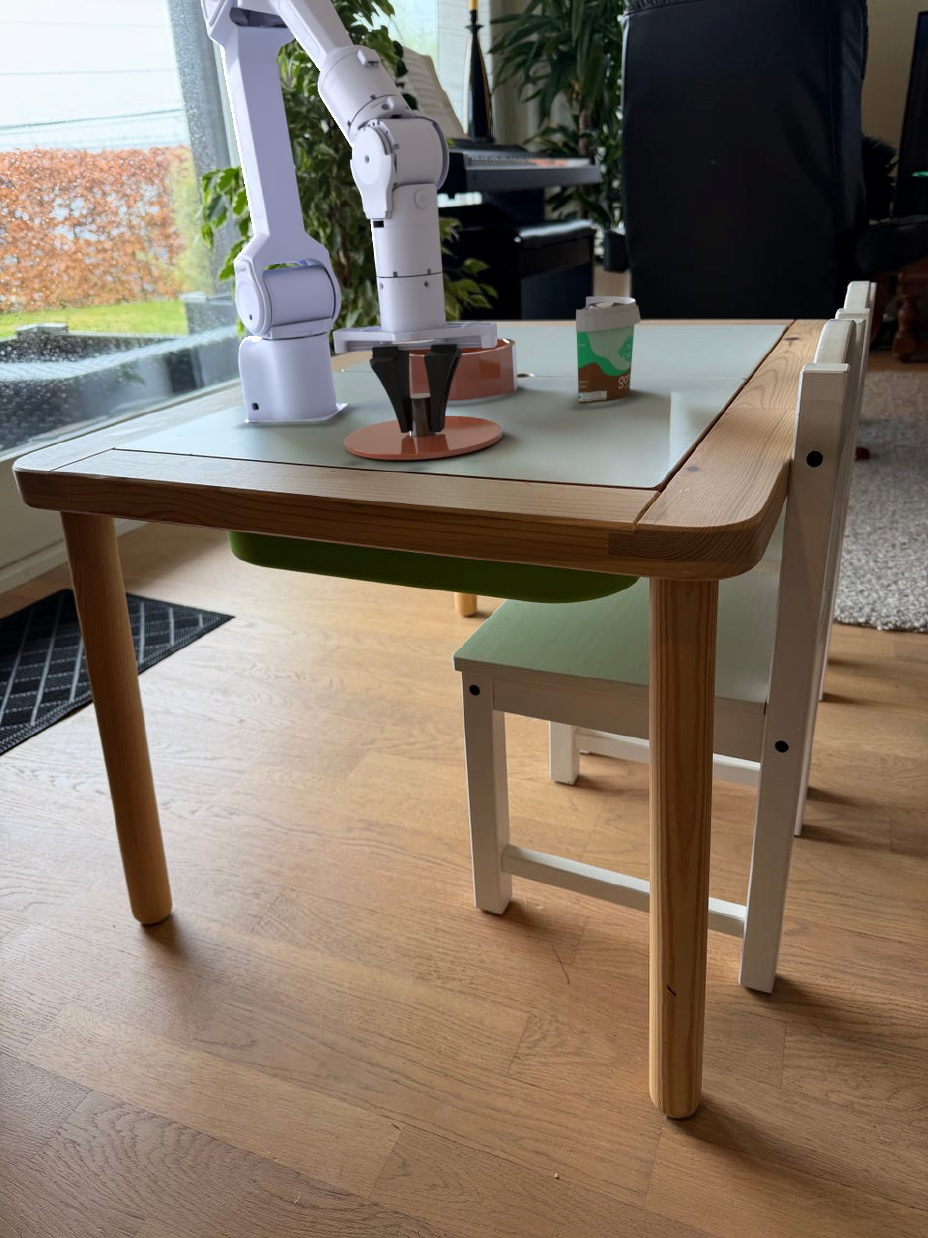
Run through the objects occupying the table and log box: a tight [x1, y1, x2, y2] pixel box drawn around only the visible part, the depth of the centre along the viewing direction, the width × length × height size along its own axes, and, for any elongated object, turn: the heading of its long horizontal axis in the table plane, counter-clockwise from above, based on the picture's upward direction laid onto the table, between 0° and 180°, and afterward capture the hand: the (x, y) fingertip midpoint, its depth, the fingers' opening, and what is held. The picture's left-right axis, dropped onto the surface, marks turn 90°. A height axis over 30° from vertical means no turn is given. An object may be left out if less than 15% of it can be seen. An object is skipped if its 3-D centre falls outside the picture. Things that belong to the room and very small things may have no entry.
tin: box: [409, 336, 519, 402], centre depth 110 cm, size 14×14×5 cm
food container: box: [575, 295, 641, 404], centre depth 100 cm, size 12×6×10 cm, turn 168°
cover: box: [344, 393, 503, 461], centre depth 87 cm, size 15×15×5 cm
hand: (422, 430), depth 88 cm, fingers closed on cover, 2 cm apart
